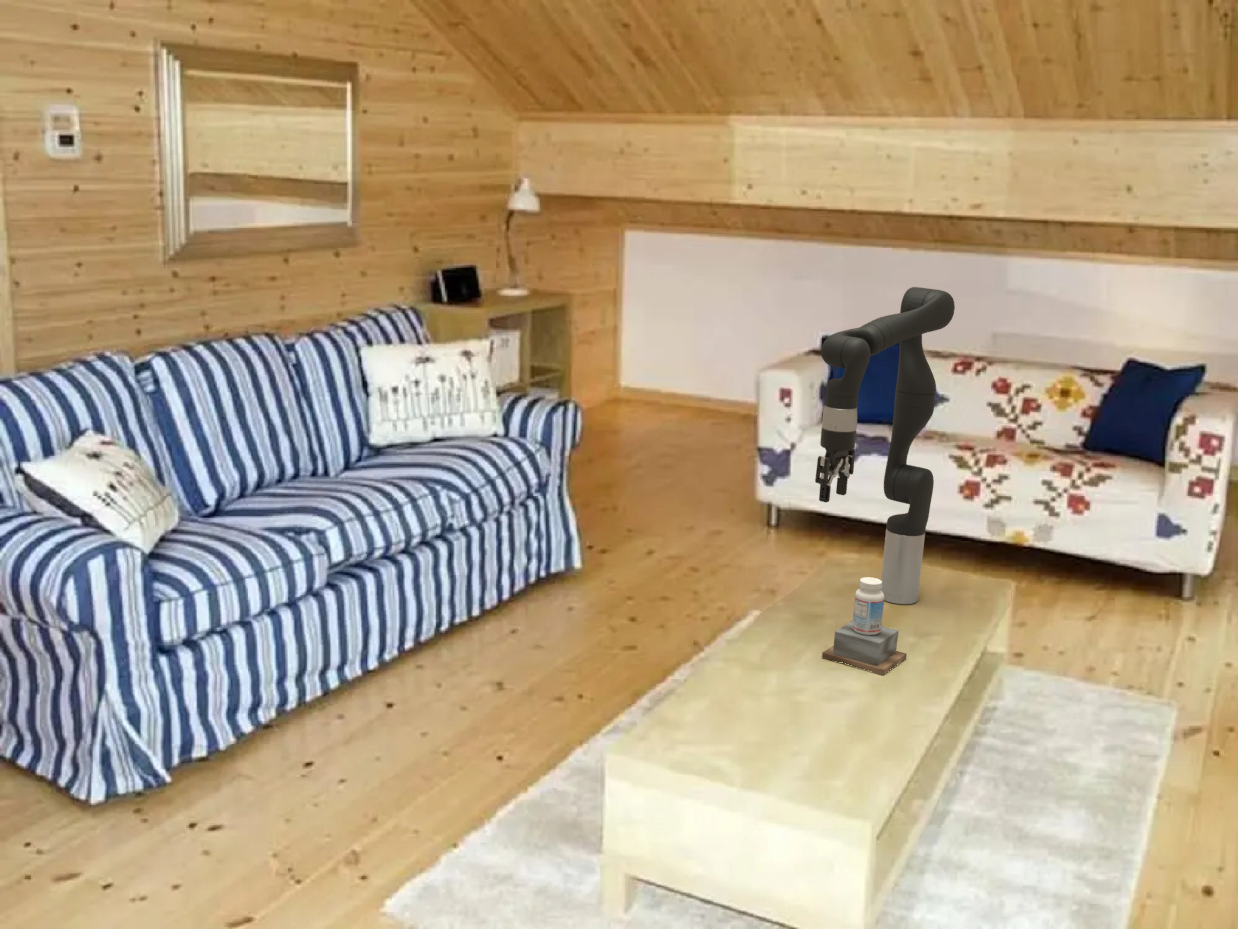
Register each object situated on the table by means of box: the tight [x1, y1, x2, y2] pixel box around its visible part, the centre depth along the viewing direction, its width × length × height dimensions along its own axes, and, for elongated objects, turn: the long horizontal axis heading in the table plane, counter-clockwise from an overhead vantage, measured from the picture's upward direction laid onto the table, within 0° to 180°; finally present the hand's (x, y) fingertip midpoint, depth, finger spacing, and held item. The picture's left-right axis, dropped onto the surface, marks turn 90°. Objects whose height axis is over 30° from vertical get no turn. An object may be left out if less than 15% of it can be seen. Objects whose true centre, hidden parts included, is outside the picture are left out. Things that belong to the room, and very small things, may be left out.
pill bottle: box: [852, 576, 885, 635], centre depth 268 cm, size 6×6×11 cm
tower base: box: [821, 620, 908, 676], centre depth 270 cm, size 12×14×6 cm
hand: (832, 498), depth 282 cm, fingers open, 8 cm apart
